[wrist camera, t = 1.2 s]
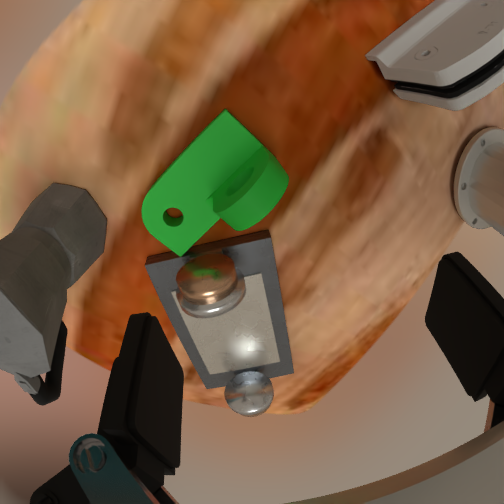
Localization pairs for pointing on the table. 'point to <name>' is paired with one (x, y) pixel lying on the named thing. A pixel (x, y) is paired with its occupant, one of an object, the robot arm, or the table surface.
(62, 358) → the coffeepot
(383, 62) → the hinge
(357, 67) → the table surface
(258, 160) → the mechanical part
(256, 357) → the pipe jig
